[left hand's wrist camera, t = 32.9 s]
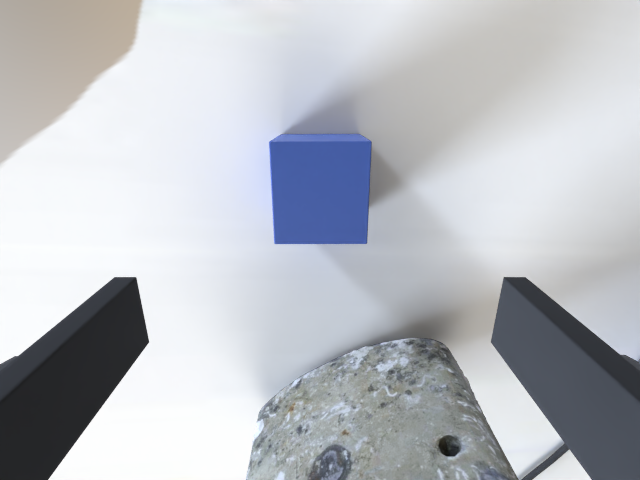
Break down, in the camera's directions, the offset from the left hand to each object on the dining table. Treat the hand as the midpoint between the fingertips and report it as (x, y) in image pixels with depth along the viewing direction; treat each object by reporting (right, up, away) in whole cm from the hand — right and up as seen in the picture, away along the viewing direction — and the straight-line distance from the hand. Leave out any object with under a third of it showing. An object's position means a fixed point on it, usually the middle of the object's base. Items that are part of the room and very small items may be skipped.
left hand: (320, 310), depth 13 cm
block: (0, +9, +25) cm, 27 cm away
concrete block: (+4, -16, +34) cm, 38 cm away
